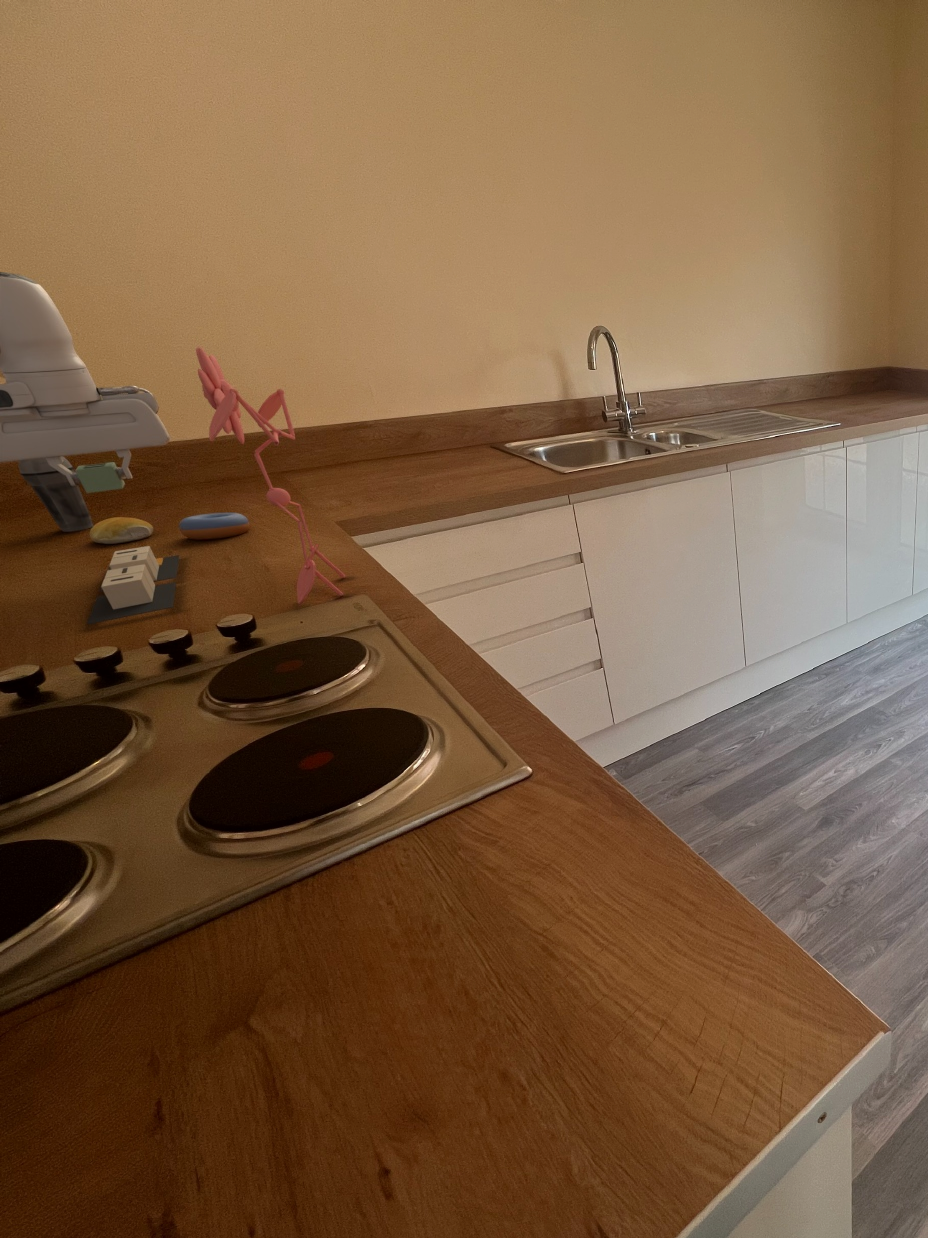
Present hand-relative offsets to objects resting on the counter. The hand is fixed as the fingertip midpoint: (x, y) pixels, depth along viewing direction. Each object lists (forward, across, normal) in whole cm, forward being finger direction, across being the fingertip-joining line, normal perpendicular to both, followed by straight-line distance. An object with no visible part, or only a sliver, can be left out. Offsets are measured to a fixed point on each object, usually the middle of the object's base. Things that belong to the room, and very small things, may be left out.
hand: (102, 481), depth 111 cm
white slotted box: (+14, 0, +21) cm, 25 cm away
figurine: (+15, -18, +32) cm, 39 cm away
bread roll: (+15, +4, -26) cm, 30 cm away
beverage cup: (+15, +12, -42) cm, 46 cm away
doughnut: (+15, -10, -14) cm, 23 cm away
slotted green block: (+1, 0, 0) cm, 1 cm away
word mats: (+15, 0, +12) cm, 19 cm away
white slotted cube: (+14, 0, +16) cm, 22 cm away
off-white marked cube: (+14, 0, +4) cm, 15 cm away
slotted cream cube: (+14, 0, +9) cm, 17 cm away
